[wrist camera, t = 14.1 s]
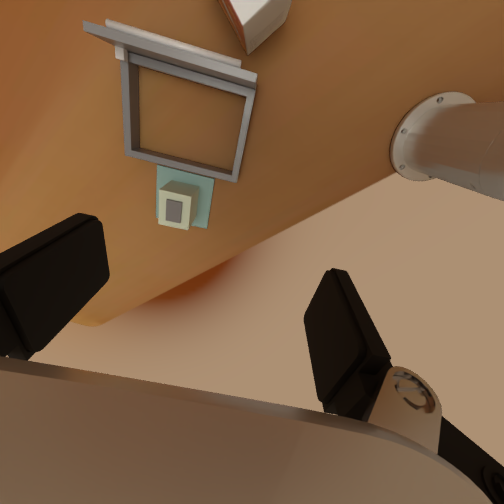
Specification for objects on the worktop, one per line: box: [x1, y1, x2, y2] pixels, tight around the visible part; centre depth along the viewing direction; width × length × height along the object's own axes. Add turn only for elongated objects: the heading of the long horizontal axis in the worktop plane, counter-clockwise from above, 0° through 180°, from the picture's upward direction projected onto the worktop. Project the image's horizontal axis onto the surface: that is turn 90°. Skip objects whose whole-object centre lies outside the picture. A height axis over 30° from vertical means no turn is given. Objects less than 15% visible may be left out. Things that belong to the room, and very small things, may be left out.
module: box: [159, 180, 200, 230], centre depth 39 cm, size 5×6×6 cm
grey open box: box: [83, 19, 257, 183], centre depth 31 cm, size 18×15×10 cm
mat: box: [156, 165, 215, 229], centre depth 42 cm, size 10×10×1 cm
